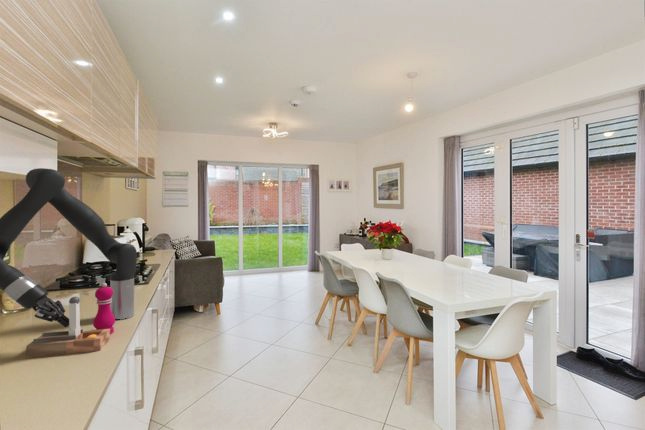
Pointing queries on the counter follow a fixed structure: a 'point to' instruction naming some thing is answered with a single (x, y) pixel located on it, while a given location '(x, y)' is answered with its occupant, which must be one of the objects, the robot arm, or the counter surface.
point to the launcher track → (67, 343)
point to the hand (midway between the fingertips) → (69, 324)
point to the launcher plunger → (74, 316)
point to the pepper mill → (104, 309)
